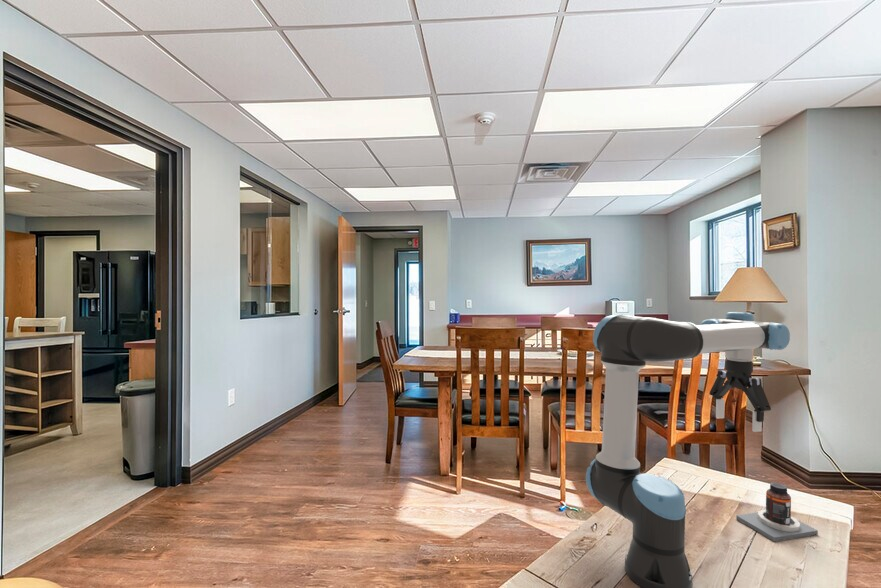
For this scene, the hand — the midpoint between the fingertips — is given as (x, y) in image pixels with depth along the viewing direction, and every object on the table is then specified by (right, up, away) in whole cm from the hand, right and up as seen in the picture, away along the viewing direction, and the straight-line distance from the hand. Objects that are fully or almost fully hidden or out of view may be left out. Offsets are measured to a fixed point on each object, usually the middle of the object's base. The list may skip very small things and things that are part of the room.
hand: (737, 424), depth 138 cm
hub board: (+5, -28, -9) cm, 30 cm away
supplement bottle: (+6, -27, -9) cm, 29 cm away
